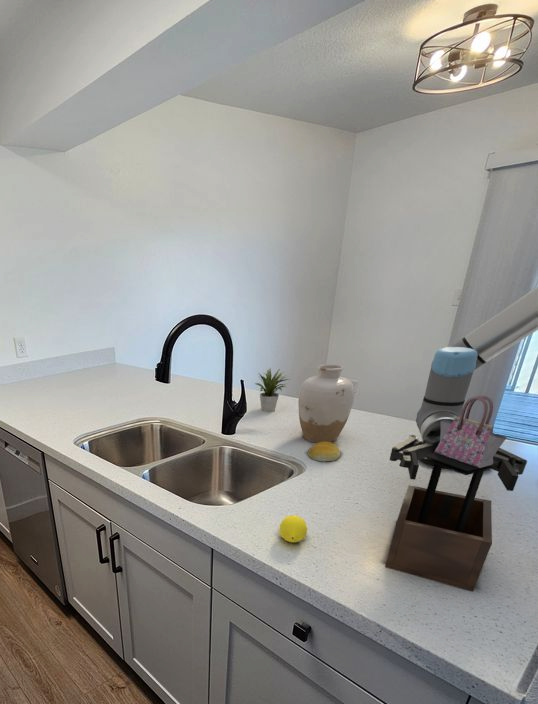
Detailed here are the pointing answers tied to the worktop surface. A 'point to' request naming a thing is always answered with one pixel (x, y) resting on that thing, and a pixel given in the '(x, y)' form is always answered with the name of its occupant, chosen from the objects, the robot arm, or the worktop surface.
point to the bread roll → (324, 451)
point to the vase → (325, 404)
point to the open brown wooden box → (441, 540)
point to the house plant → (270, 391)
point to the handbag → (462, 458)
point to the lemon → (293, 528)
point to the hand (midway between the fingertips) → (461, 477)
